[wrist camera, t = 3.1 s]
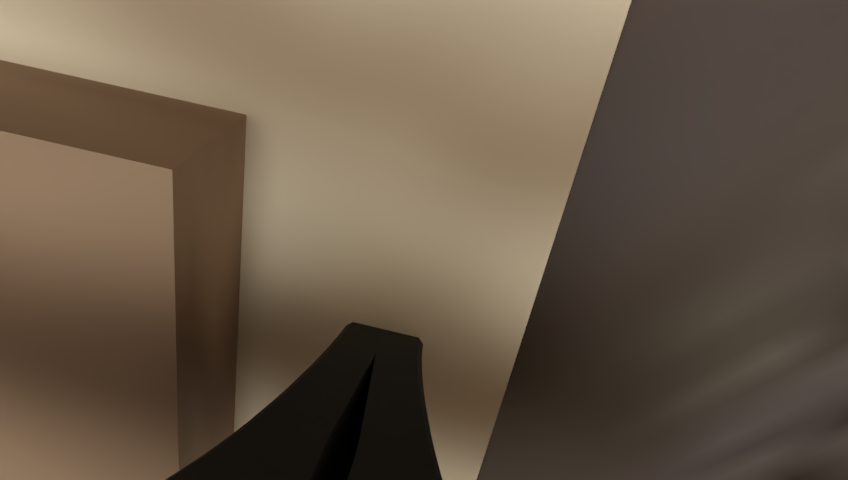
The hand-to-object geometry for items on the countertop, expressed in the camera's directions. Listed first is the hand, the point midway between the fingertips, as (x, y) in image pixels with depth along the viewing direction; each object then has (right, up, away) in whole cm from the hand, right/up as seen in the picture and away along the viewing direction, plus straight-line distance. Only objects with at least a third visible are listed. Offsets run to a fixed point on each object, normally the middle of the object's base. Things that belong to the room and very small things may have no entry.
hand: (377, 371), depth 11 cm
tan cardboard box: (-5, +2, +1) cm, 6 cm away
